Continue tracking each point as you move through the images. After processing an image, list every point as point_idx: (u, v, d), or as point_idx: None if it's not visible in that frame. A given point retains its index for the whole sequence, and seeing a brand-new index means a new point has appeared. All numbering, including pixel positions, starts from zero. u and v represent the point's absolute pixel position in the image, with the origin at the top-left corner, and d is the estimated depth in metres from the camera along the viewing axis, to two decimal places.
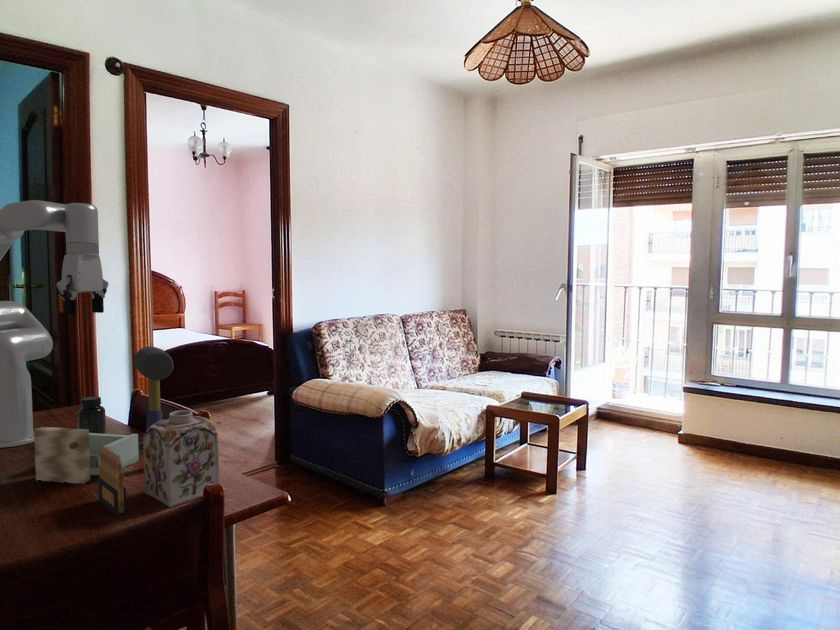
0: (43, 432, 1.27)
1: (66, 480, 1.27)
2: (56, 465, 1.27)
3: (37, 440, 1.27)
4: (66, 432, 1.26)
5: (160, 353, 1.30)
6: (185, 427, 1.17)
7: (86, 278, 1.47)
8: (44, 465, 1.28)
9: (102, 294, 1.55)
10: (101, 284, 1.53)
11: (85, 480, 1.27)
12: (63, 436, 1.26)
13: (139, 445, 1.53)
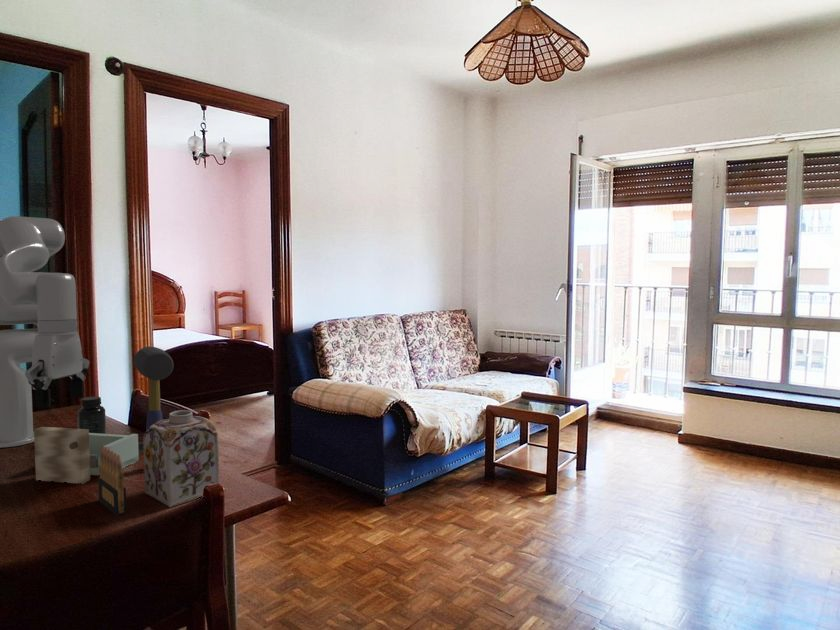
0: (43, 432, 1.27)
1: (66, 480, 1.27)
2: (56, 465, 1.27)
3: (37, 440, 1.27)
4: (66, 432, 1.26)
5: (160, 353, 1.30)
6: (185, 427, 1.17)
7: (62, 362, 1.24)
8: (44, 465, 1.28)
9: (82, 376, 1.32)
10: (80, 365, 1.30)
11: (85, 480, 1.27)
12: (63, 436, 1.26)
13: (139, 445, 1.53)
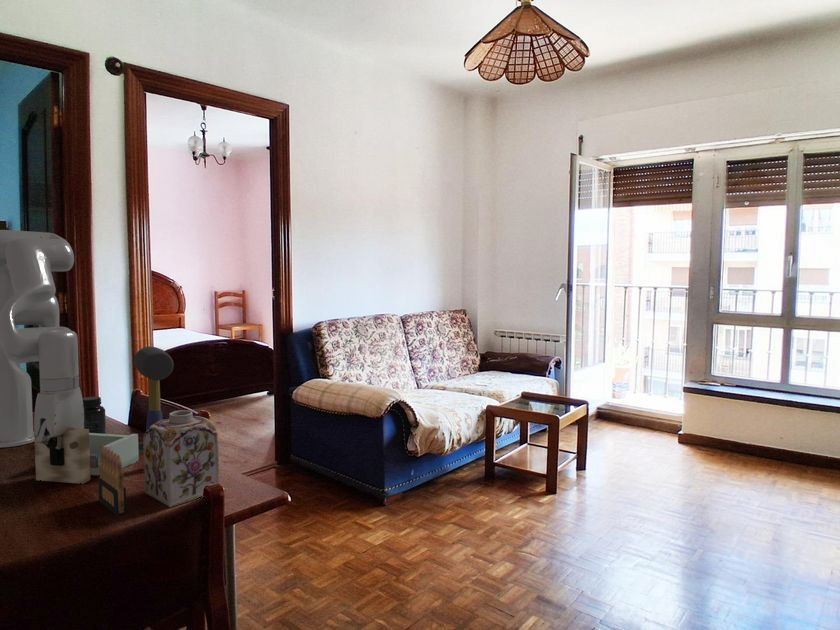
0: None
1: (66, 480, 1.27)
2: None
3: None
4: (66, 432, 1.26)
5: (160, 353, 1.30)
6: (185, 427, 1.17)
7: (63, 419, 1.25)
8: (44, 465, 1.28)
9: None
10: (82, 419, 1.31)
11: (85, 480, 1.27)
12: (63, 436, 1.26)
13: (139, 445, 1.53)
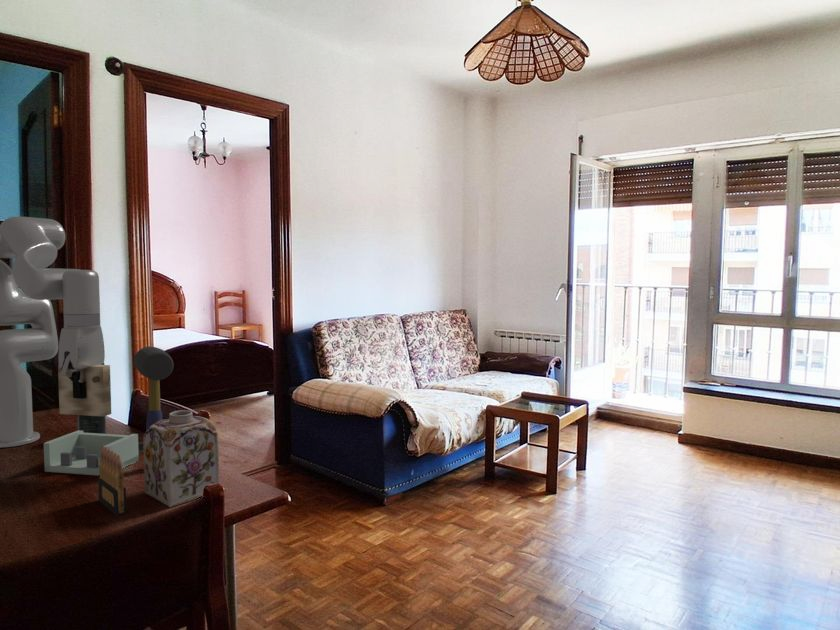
0: None
1: (88, 413, 1.33)
2: (79, 399, 1.34)
3: (60, 375, 1.34)
4: (89, 367, 1.32)
5: (160, 353, 1.30)
6: (185, 427, 1.17)
7: (86, 353, 1.32)
8: (67, 399, 1.34)
9: None
10: (103, 357, 1.38)
11: (107, 413, 1.34)
12: (86, 371, 1.33)
13: (139, 445, 1.53)
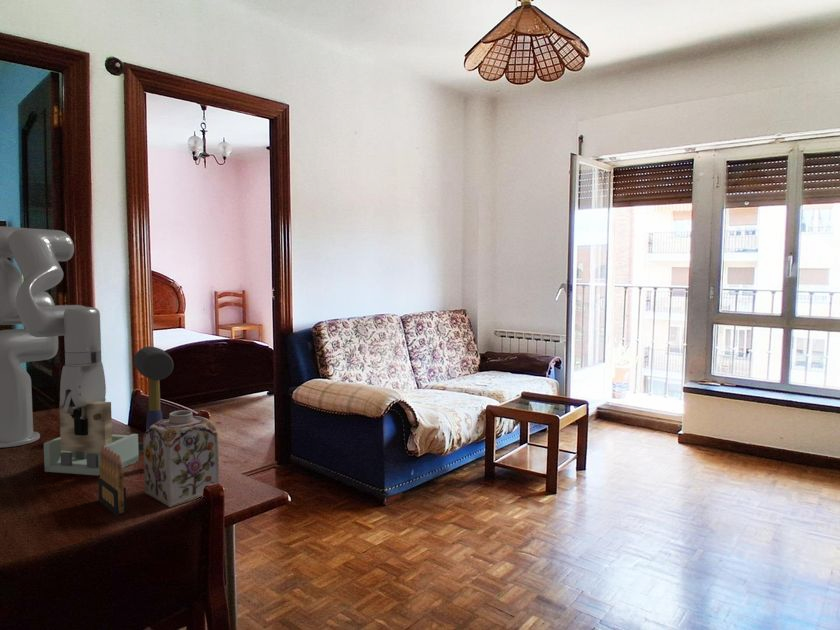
0: None
1: (90, 450, 1.34)
2: (80, 436, 1.34)
3: (62, 412, 1.34)
4: (90, 404, 1.33)
5: (160, 353, 1.30)
6: (185, 427, 1.17)
7: (87, 391, 1.32)
8: (68, 436, 1.35)
9: None
10: (104, 392, 1.38)
11: None
12: (87, 408, 1.33)
13: (139, 445, 1.53)
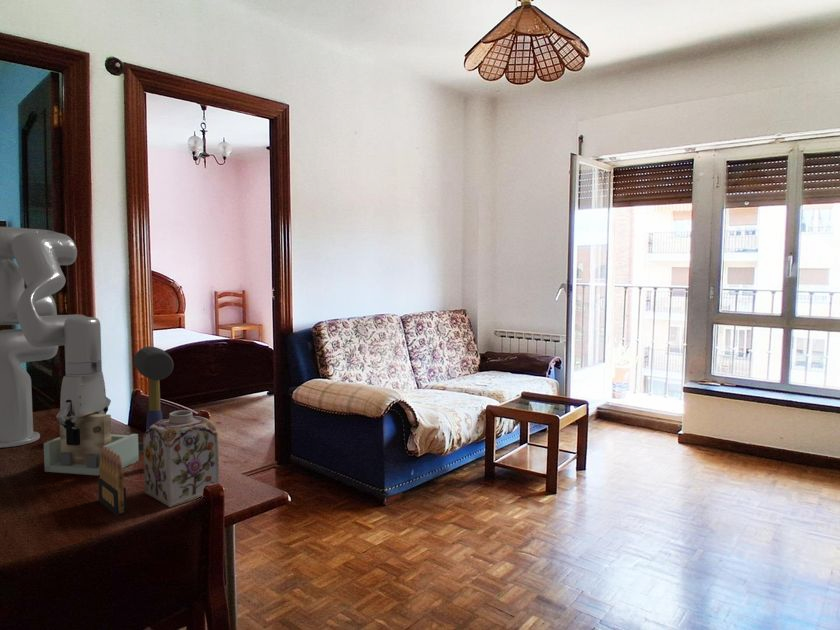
0: None
1: None
2: (80, 448, 1.35)
3: None
4: (90, 417, 1.34)
5: (160, 353, 1.30)
6: (185, 427, 1.17)
7: (87, 401, 1.32)
8: (68, 448, 1.35)
9: None
10: (104, 402, 1.38)
11: None
12: (86, 421, 1.34)
13: (139, 445, 1.53)
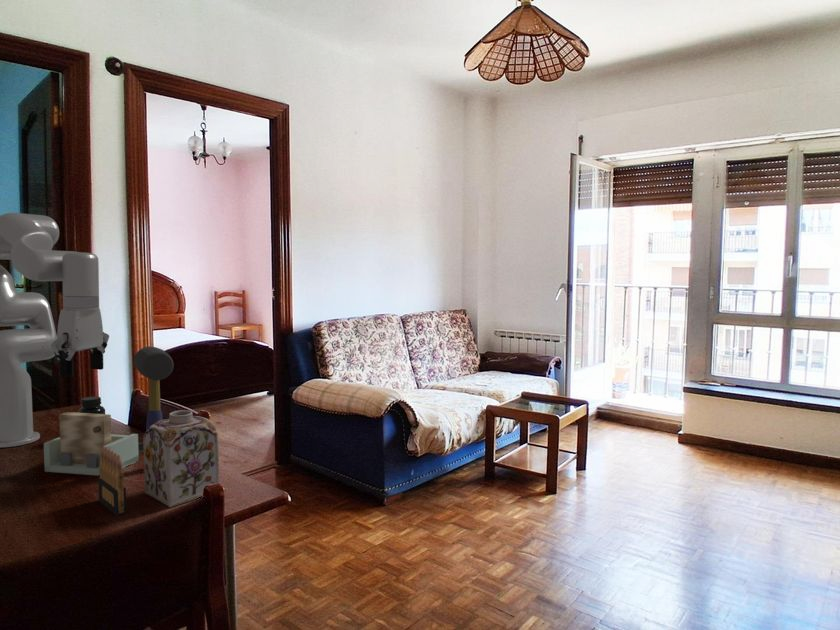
0: (68, 417, 1.34)
1: None
2: (80, 448, 1.35)
3: (62, 425, 1.35)
4: (90, 417, 1.34)
5: (160, 353, 1.30)
6: (185, 427, 1.17)
7: (84, 335, 1.33)
8: (68, 448, 1.35)
9: (102, 349, 1.41)
10: (101, 339, 1.39)
11: None
12: (86, 421, 1.34)
13: (139, 445, 1.53)
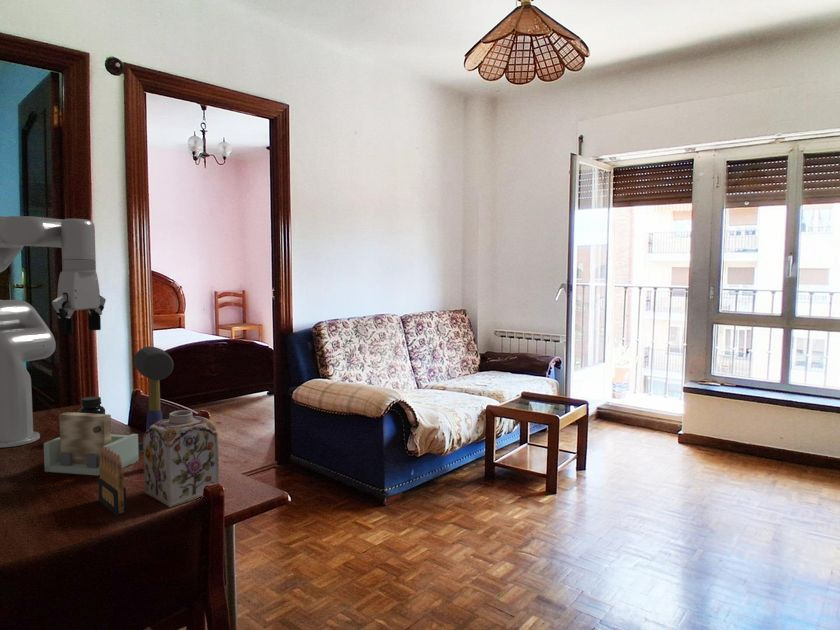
0: (68, 417, 1.34)
1: None
2: (80, 448, 1.35)
3: (62, 425, 1.35)
4: (90, 417, 1.34)
5: (160, 353, 1.30)
6: (185, 427, 1.17)
7: (82, 295, 1.43)
8: (68, 448, 1.35)
9: (99, 311, 1.51)
10: (98, 301, 1.49)
11: None
12: (86, 421, 1.34)
13: (139, 445, 1.53)
